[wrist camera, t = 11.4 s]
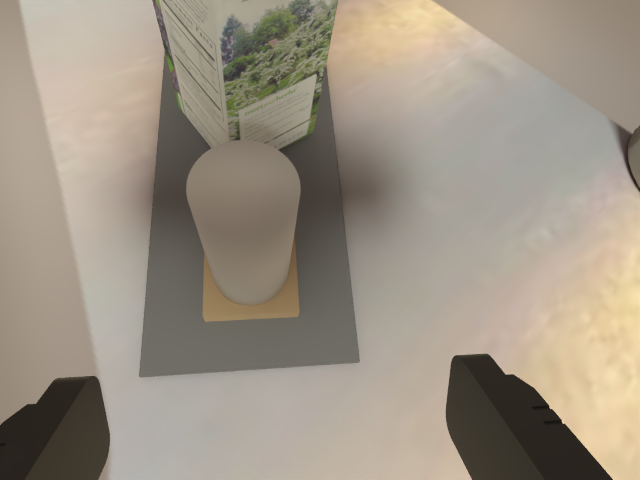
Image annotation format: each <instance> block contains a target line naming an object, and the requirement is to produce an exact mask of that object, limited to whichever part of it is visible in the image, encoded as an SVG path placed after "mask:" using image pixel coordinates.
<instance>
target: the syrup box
mask: <svg viewBox="0 0 640 480" xmlns="http://www.w3.org/2000/svg"><path fill="white" fill-rule="evenodd" d="M152 1H153V5H154V8H155V12H156V16H157V21H158V24H159V28H160V32H161V36H162V40H163V45H164V48H165V53H166V57H167V61H168V65H169V69H170V74H171V77H172V81H173V85H174V90H175V93H176V97H177V102H178V106H179V108H180V109H181V110H182V112H183V113H184V114H185V116H186V117H187V118H188V119H189V120H190V122H191V123H192V124H193V125H194V127H195V128H196V129H197V131H198V132H199V133H200V134H201V136H202V137H203V138H204V139H205V141H206V142H207V143H208V145H209V146H210V147H211V148H213V147H215V146H217V145H220V144H222V143H226V142H230V141H236V140H251V141H257V142H261V143H265V144H267V145H270V146H272V147H274V148H275V149H277V150H279V151H280V150H282V149H284V148H286V147H288V146H289V145H291V144H293V143H295V142H297V141H298V140H300V139H303V138H304V137H306V136H308V135H309V134H311V133H312V132H313V130H314V126H315V121H316V115H317V110H318V104H319V99H320V94H321V89H322V83H323V77H324V72H325V67H326V62H327V56H328V51H329V46H330V40H331V35H332V30H333V25H334V20H335V14H336V9H337V3H338V0H152Z"/></svg>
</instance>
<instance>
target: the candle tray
mask: <svg viewBox="0 0 640 480" xmlns="http://www.w3.org/2000/svg"><path fill="white" fill-rule="evenodd" d="M359 362H360V359H359V350H358V342H357V333H356V324H355V315H354V306H353V298H352V289H351V280H350V271H349V262H348V253H347V245H346V236H345V227H344V218H343V209H342V201H341V192H340V183H339V174H338V165H337V157H336V148H335V139H334V130H333V121H332V112H331V104H330V95H329V86H328V77H327V68H326V67H325V72H324V77H323V83H322V89H321V94H320V99H319V104H318V110H317V115H316V121H315V126H314V130H313V132H312V133H311V134H309V135H308V136H306V137H304V138H303V139H300V140H298V141H297V142H295V143H293V144H291V145H289V146H288V147H286V148H284V149H282V150H280V151H279V150H277V149H275V148H274V147H272V146H270V145H267V144H265V143H261V142H257V141H251V140H236V141H230V142H226V143H222V144H220V145H217V146H215V147H213V148H211V147H210V146H209V145H208V143H207V142H206V141H205V139H204V138H203V137H202V136H201V134H200V133H199V132H198V131H197V129H196V128H195V127H194V125H193V124H192V123H191V122H190V120H189V119H188V118H187V117H186V116H185V114H184V113H183V112H182V110H181V109H180V108H179V106H178V102H177V97H176V93H175V90H174V85H173V81H172V77H171V74H170V69H169V65H168V61H167V57H166V53H165V57H164V70H163V82H162V95H161V107H160V120H159V133H158V145H157V158H156V171H155V183H154V196H153V208H152V221H151V234H150V246H149V259H148V272H147V284H146V297H145V309H144V322H143V335H142V347H141V360H140V373H139V377H152V376H167V375H182V374H196V373H211V372H226V371H241V370H256V369H270V368H285V367H300V366H315V365H330V364H344V363H359Z"/></svg>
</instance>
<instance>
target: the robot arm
mask: <svg viewBox="0 0 640 480" xmlns="http://www.w3.org/2000/svg"><path fill="white" fill-rule="evenodd" d="M628 160H629V165H630V168H631V171H632V174H633V176H634V178H635V180H636V182H637V184H638V186H639V188H640V126H639V127H638V128H637V129H636V130H635V131H634V133H633V135H632V136H631V138H630V141H629V146H628ZM446 421H447V426H448V430H449V434H450V436H451V439H452V441H453V443H454V445H455V447H456V449H457V451H458V452H459V454H460V456H461V458H462V460H463V462H464V464H465V466H466V468H467V470H468V472H469V474H470V476H471V478H472V480H613V479H612V478H611V477H610V476H609V474H608V473H607V472H606V471H605V470H604V469H603V467H602V466H601V465H600V464H599V463H598V462H597V461H596V459H595V458H594V457H593V456H592V455H591V454H590V452H589V451H588V450H587V449H586V448H585V447H584V445H583V444H582V443H581V442H580V441H579V440H578V438H577V437H576V436H575V435H574V434H573V433H572V432H571V430H570V429H569V428H568V427H567V426H566V425H565V424H562V420H561V419H560V418H559V416H558V415H557V414H556V413H555V412H554V411H553V409H550V408H549V405H548V404H547V403H546V401H545V400H544V399H543V398H542V397H541V396H540V394H539V393H538V392H537V391H536V390H535V389H534V388H533V387H531V386H530V385H528V384H527V383H525V382H524V381H522V380H521V379H519V378H518V377H516V376H515V375H513V374H511V375H505V373H504V372H503V371H502V370H501V368H500V367H499V366H498V365H497V364H496V362H495V361H494V360H493V359H492V357H491V356H490V355H488V354H473V355H456V356H454V357H453V359H452V362H451V369H450V378H449V386H448V395H447V403H446ZM109 445H110V433H109V427H108V422H107V417H106V412H105V407H104V402H103V397H102V392H101V387H100V383H99V380H98V379H97V377H95V376H85V377H69V378H57V379H55V380H54V381H53V382H52V383H51V385H50V386H49V387H48V389H47V390H46V391H45V393H44V394H43V395H42V397H41V398H40V399H39V401H38V402H37V403H36V404H27V405H26V406H24V407H23V408H22V409H20V410H19V411H18V412H16V413H15V414H14V415H12V416H11V417H10V418H8V419H7V420H6V421H4V422H3V423H2V424H1V425H0V480H98V479H99V476H100V474H101V472H102V470H103V468H104V465H105V463H106V460H107V457H108V452H109Z"/></svg>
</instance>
